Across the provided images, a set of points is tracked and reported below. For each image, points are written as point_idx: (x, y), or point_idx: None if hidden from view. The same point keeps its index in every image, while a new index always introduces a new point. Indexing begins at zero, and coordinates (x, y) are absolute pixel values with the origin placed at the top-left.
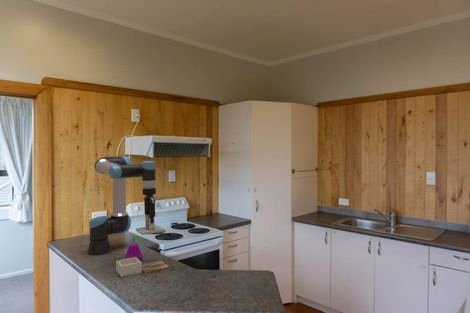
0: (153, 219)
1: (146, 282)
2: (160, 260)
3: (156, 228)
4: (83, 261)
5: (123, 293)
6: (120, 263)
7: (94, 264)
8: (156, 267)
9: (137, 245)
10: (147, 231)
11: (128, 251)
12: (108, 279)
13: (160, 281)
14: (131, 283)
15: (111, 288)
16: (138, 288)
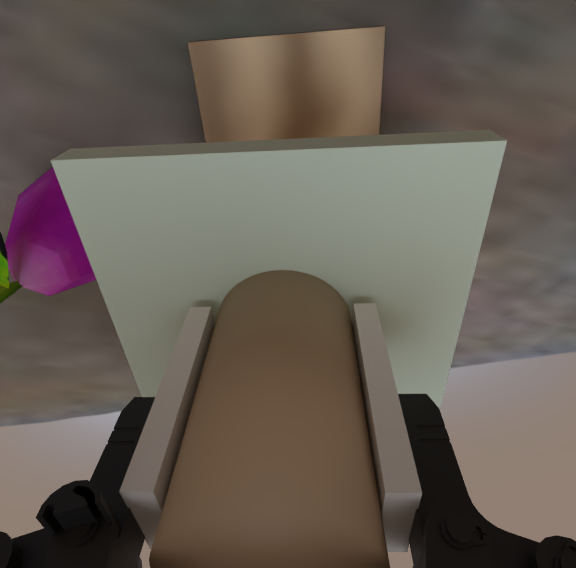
0: (457, 466)
1: (513, 237)
2: (195, 46)
3: (321, 248)
4: (36, 402)
5: (543, 339)
6: None
7: (99, 376)
8: (339, 126)
9: (40, 237)
10: (420, 383)
11: (84, 280)
12: None
13: (569, 168)
14: None
15: (451, 363)
16: (550, 283)
